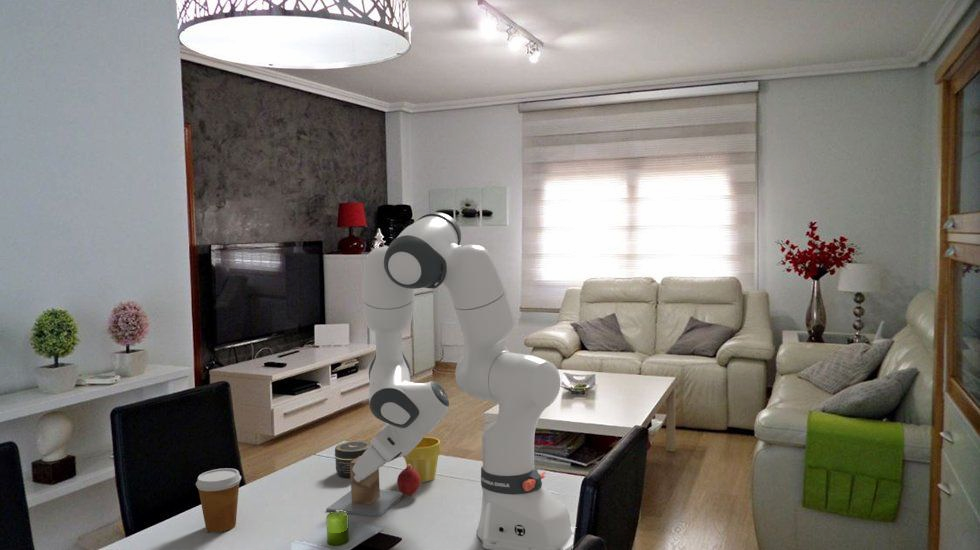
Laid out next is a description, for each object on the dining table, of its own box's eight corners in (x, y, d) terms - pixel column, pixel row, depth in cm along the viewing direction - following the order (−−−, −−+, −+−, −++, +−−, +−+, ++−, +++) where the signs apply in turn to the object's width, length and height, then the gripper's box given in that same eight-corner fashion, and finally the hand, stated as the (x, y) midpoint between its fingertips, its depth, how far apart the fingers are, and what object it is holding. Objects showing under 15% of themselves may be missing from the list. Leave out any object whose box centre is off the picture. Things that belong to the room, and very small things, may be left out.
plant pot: (396, 476, 184) (394, 441, 184) (430, 469, 190) (429, 434, 189) (413, 488, 176) (412, 450, 175) (448, 479, 181) (447, 443, 181)
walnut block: (379, 497, 168) (378, 457, 168) (370, 505, 163) (368, 463, 163) (361, 495, 170) (359, 455, 169) (351, 503, 165) (349, 462, 164)
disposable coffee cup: (216, 539, 148) (213, 485, 147) (189, 530, 153) (186, 477, 152) (252, 523, 156) (250, 471, 155) (225, 515, 161) (223, 465, 160)
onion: (416, 501, 166) (416, 469, 166) (393, 500, 167) (394, 467, 167) (423, 492, 172) (423, 461, 172) (401, 491, 173) (401, 460, 173)
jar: (368, 479, 183) (367, 451, 183) (331, 480, 183) (330, 451, 183) (375, 466, 193) (374, 440, 193) (340, 467, 193) (339, 440, 193)
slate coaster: (405, 494, 171) (405, 492, 171) (380, 516, 158) (380, 514, 158) (355, 489, 175) (355, 487, 175) (326, 511, 162) (326, 508, 162)
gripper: (407, 416, 173) (373, 452, 177) (370, 439, 154) (333, 479, 157) (424, 434, 172) (390, 470, 176) (389, 460, 153) (351, 499, 156)
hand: (363, 474), depth 166 cm, fingers closed on walnut block, 5 cm apart
